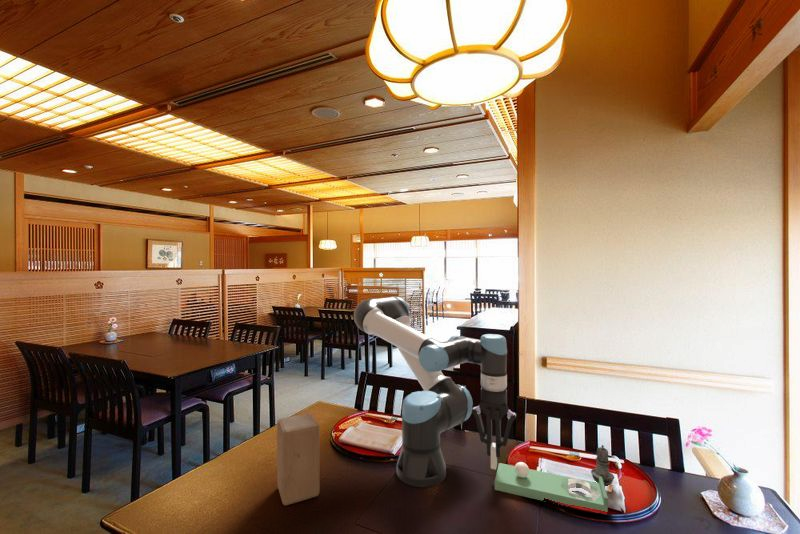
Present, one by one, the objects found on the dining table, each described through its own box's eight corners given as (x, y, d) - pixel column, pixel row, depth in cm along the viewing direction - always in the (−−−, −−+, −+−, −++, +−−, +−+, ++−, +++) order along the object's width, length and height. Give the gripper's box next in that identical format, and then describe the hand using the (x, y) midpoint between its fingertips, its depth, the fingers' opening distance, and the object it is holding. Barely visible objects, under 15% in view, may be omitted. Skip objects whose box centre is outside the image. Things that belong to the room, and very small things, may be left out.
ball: (513, 479, 103) (514, 465, 103) (515, 471, 106) (515, 458, 106) (528, 482, 101) (528, 468, 101) (529, 474, 105) (529, 460, 105)
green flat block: (494, 489, 102) (494, 473, 102) (499, 470, 111) (499, 456, 111) (607, 515, 91) (607, 498, 91) (602, 492, 100) (602, 476, 100)
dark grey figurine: (617, 494, 100) (617, 451, 100) (594, 491, 101) (594, 449, 101) (609, 481, 106) (609, 440, 105) (588, 479, 107) (588, 439, 107)
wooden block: (282, 508, 94) (282, 432, 94) (276, 487, 103) (276, 417, 103) (320, 496, 99) (320, 424, 99) (311, 477, 108) (311, 411, 107)
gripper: (469, 388, 106) (469, 468, 106) (515, 394, 101) (515, 478, 101) (474, 381, 112) (474, 456, 113) (517, 386, 108) (517, 464, 108)
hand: (493, 466), depth 107 cm, fingers closed
